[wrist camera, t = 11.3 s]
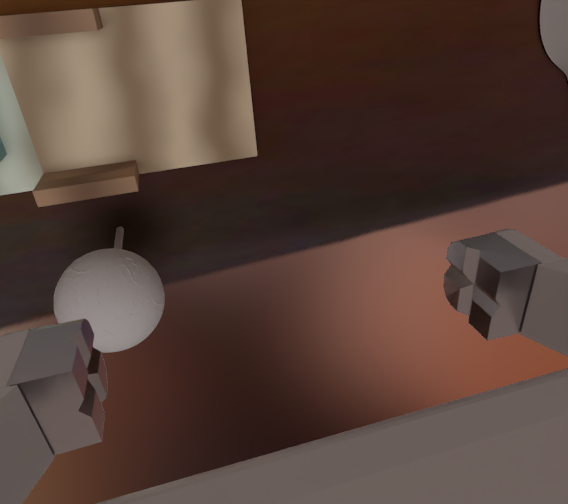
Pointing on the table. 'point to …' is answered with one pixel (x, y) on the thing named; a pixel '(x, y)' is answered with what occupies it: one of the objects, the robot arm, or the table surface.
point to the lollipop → (111, 296)
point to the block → (2, 150)
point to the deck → (121, 96)
